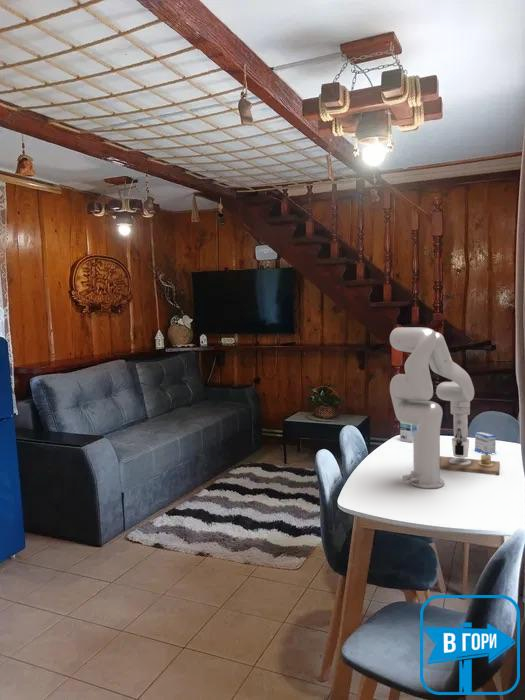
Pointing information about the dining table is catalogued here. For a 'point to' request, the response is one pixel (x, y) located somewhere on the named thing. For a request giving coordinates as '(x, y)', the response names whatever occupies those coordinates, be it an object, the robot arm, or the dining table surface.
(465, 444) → the white short cylinder
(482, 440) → the medicine box
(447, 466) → the fitting board
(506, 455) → the dining table surface
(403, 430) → the light bulb box
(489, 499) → the dining table surface
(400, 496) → the dining table surface
